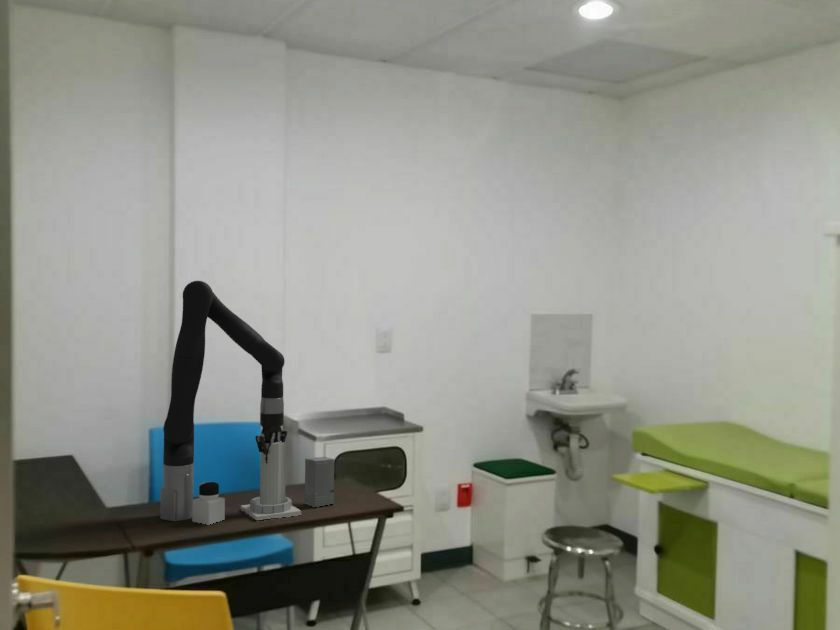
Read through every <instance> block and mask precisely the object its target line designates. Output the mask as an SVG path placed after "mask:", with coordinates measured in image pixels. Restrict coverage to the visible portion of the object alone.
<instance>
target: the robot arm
mask: <svg viewBox="0 0 840 630" xmlns="http://www.w3.org/2000/svg"><path fill="white" fill-rule="evenodd" d="M182 291H183V292H182V314H181V315H182V317H181V318H182V319H181V324H180V329H179V333H178V336H177V340H176V343H175V346H174V352H173V353H174V354H173V360H172V366H171V381H170V382H171V384H170V385H171V386H170V392H171V394H170V402H169V406H168V407H169V408H168V410H167V415H166V418H165V420H164V424H163V429H162V431H163V456H162V457H163V467H162V468H163V469H162V476H163V477H162V488H160V509H159V510H160V516H159V517H160V518H159V519H161V520H165V521H169V522H170V521H171V522H179V521H186V520H189V519H192V514H193V499H194V473H195V472H194V469H195V468H194V467H195V466H194V465H195V464H194V463H195V462H194V460H195V458H194V457H195V421H194V419H195V418H194V416H195V415H194V414H195V403H196V397H197V393H198V390H199V386H200V381H201V379H202V378H201V377H202V373H203V368H204V362H205V353H206V328H207V320H208V319H210V320H211V321H212V322H213V323H214V324H216V325H217V326H218V327H219V328H220V329H221V330H222V331H223V332H224V333H225V334H226V335H227V336H228V338H230V339H231V340H232V341H233V342H234V343H235V344H236V345H238V346H239V347H240V349H242V350H243V351H244V352H246V353H247V354H249V355H250V356H251V357H252V358H254V360H255V361H256V362H257V363H258V364H260V366H261V389H260V391H261V395H260V399H261V400H260V407H259V411H260V412H259V425H260V426H261V429H262V430H261V434H258V435H256V436H255V441H256V446H257V450H258V452H259V453H261V452H262V453H264V454H265V455H266V457H265V458H266V459H265V460H266V462H265V463H267V460H268V454H270V447H271V446H272V444H273V442H280V443H282V442H286V439H287V436H288V431H287V430H283V429H282V426H284V424H285V423H284V422H285V420H284V417H285V416H284V415H285V413H284V411H285V402H284V382H283V368H284V365H285V363H286V361H285V357H284V355H283V354H282V353H281V351H279V350H278V349H276V348H275V347H274V346H273V345H271V344H270V343H269V342H268V341H266V340H265V339H264V337H263V336H262V335H261V334H260V333H258V331H256V329H254V328H253V327H252V326H250V324H248V323H247V322H246V321H244V319H242V318H241V317H239V316H238V315H237V314H235V312H233V311H232V310H231V309H230V308H228V307H227V306H226V305H225V304H224V303H223V302H222V301H221V300H220V299H219V297H218V296H217V295H216V294H215V292H214V291H213V289H212V288H211V286H210V285H209V284H208V283H207V282H206V281H205V282H204V281H203V280H194V281H190V282H189V283H187V284H186V285H185V287H184V289H183V290H182ZM265 443H269V446H268V450H267V448H266V444H265ZM262 447H263V449H262Z"/></svg>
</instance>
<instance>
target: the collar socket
mask: <svg viewBox="0 0 840 630" xmlns="http://www.w3.org/2000/svg"><path fill="white" fill-rule="evenodd" d="M292 503H293V502H292V498H290V497H288V496H285V503H283V504H277V505H261V504H260V496H256V497H253V498H251V499H250V500H249V504H243V505H242V504H241V505H240V510H241V509H242V510H243V511H245V512H246V513H247V514H249V515H250V516H252V517H253V518H254V519H255V520H263V519H271V518H279V519H283V518H282V517H286V518H292V517H291V516H294V517H299V516H298V515H301V516H302V510H300V509H299V508H297V506H295V505H293V504H292ZM242 510H241V511H242ZM243 511H242V512H243ZM246 513H245V514H246ZM247 514H246V515H247ZM250 516H249V517H250ZM253 518H252V519H253ZM254 519H253V520H254ZM255 520H254V521H255ZM271 520H272V519H271Z"/></svg>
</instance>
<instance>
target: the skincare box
mask: <svg viewBox="0 0 840 630" xmlns="http://www.w3.org/2000/svg"><path fill="white" fill-rule="evenodd" d="M304 466H305V467H304V505H306V504H307V505H306V506H309V507H311V506H312V507H311V508H314V507H317V508H320V507H319V506H323V507H326V506H325V505H328V506H331V505H330V504H333V505H334V504H335V503H334V502H335V459H334V458H331V457H327V456H320V457H318V456H317V457H307V458H305V459H304Z"/></svg>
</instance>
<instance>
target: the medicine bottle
mask: <svg viewBox="0 0 840 630" xmlns="http://www.w3.org/2000/svg"><path fill="white" fill-rule="evenodd" d="M225 502H226V498H225V497H221V496H220V485H219V483H218V482H215V481H205V482H201V483H199V485H198V497H197V498H193V514H192V518H191V520H192V523H196V522H197V524H200V523H202V524H201V525H205V524H206V525H205V526H211V525H213V523H214V524H217V523H216V522H218V523H220V521H221V522H223V521H222V520H224V521H225V518H226V517H225V516H226V511H225V510H226V503H225ZM210 524H211V525H210Z"/></svg>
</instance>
